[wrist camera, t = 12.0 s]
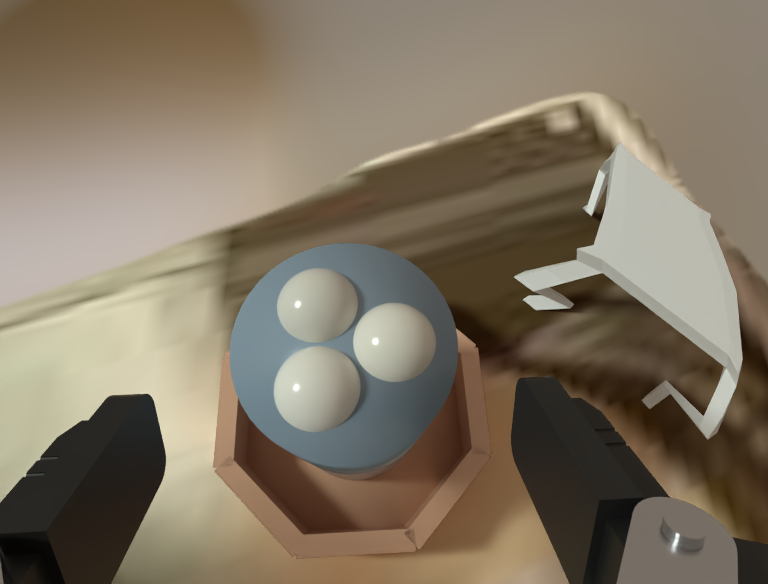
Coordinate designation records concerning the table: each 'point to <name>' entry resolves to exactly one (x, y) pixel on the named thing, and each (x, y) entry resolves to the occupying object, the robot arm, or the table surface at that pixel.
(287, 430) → the pebble cup
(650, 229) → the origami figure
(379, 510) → the terracotta bowl
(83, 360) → the table surface
